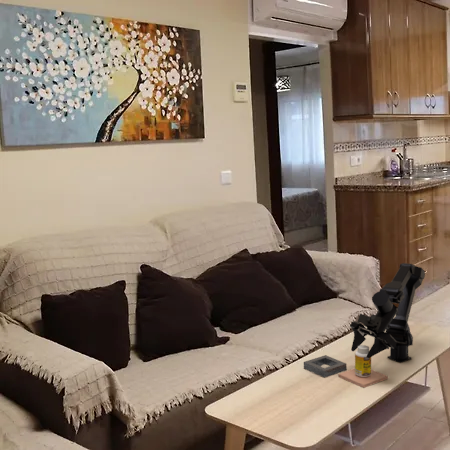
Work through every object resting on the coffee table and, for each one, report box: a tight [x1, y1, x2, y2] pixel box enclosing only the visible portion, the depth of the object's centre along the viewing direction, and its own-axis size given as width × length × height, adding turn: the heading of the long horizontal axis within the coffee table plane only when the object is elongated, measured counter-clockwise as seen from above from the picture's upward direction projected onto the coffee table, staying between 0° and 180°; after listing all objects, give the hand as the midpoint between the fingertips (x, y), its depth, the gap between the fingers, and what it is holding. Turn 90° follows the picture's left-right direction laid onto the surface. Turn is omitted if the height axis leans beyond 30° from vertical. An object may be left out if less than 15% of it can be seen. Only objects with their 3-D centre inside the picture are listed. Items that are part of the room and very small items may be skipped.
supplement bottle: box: [354, 344, 372, 377], centre depth 208 cm, size 6×6×10 cm
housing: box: [303, 354, 348, 378], centre depth 218 cm, size 11×11×2 cm
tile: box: [337, 368, 389, 388], centre depth 209 cm, size 12×12×1 cm
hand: (359, 354), depth 207 cm, fingers open, 8 cm apart
